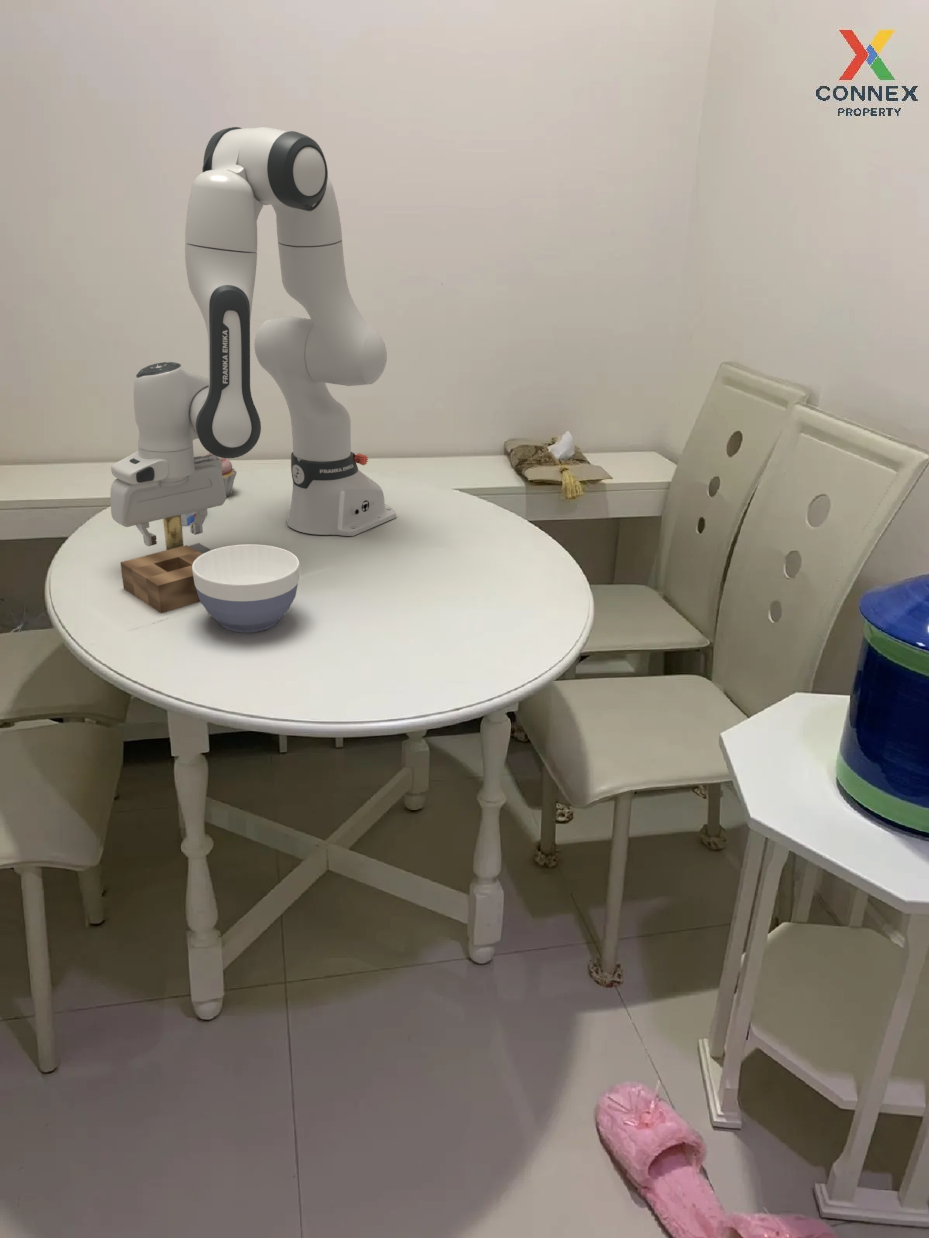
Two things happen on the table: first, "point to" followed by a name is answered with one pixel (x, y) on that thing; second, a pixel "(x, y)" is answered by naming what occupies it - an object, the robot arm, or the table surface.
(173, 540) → the brass peg
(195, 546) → the rubber mat
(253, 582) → the bowl
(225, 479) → the cupcake
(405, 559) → the table surface
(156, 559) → the hole block
